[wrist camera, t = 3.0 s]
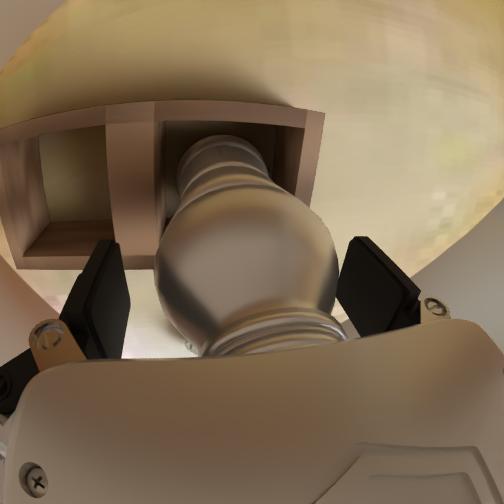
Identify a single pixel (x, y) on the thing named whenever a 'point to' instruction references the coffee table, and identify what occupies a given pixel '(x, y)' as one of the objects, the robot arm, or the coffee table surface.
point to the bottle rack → (132, 176)
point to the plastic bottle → (244, 258)
